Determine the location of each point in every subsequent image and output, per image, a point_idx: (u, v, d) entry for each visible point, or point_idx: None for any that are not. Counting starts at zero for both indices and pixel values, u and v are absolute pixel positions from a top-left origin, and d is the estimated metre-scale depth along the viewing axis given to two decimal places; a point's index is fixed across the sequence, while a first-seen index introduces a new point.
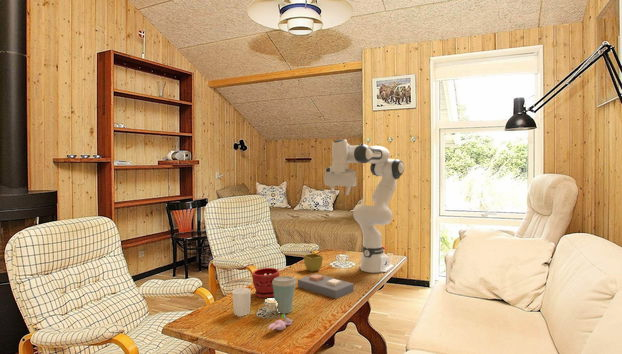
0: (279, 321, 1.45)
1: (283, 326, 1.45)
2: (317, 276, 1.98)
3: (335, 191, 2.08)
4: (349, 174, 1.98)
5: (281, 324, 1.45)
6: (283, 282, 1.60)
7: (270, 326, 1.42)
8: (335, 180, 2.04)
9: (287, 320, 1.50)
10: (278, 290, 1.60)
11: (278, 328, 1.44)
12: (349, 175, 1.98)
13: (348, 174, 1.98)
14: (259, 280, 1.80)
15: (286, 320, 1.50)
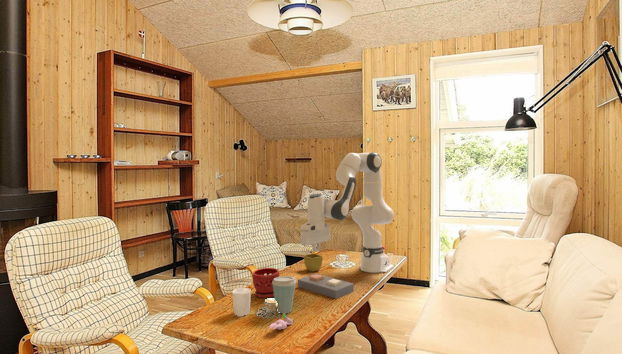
0: (280, 321, 1.46)
1: (284, 326, 1.45)
2: (317, 276, 1.98)
3: None
4: (328, 228, 2.01)
5: (282, 324, 1.45)
6: (283, 282, 1.60)
7: (271, 326, 1.43)
8: (316, 237, 1.95)
9: (288, 320, 1.50)
10: (278, 290, 1.60)
11: (279, 328, 1.45)
12: (328, 230, 2.01)
13: (327, 229, 2.01)
14: (259, 280, 1.80)
15: (287, 320, 1.50)
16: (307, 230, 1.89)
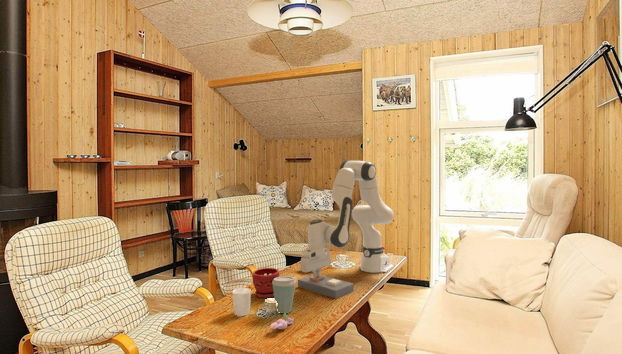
0: (281, 320, 1.46)
1: (285, 325, 1.46)
2: (317, 277, 1.98)
3: None
4: (328, 253, 2.02)
5: (283, 323, 1.45)
6: (283, 282, 1.60)
7: (272, 325, 1.43)
8: (316, 264, 1.95)
9: (288, 319, 1.51)
10: (278, 290, 1.60)
11: (280, 327, 1.45)
12: (328, 255, 2.02)
13: (327, 254, 2.01)
14: (259, 280, 1.80)
15: (287, 319, 1.51)
16: (307, 257, 1.90)
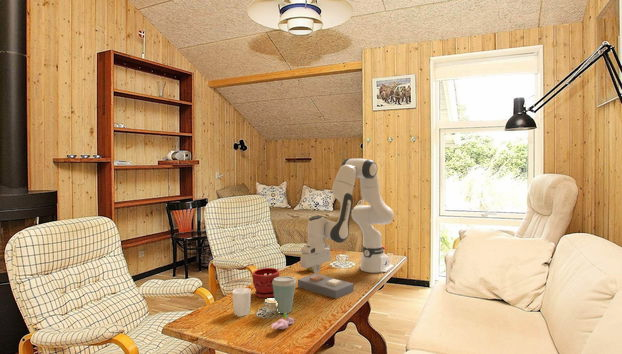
0: (282, 320, 1.46)
1: (286, 325, 1.46)
2: (317, 277, 1.98)
3: None
4: (328, 249, 2.02)
5: (284, 323, 1.46)
6: (283, 282, 1.60)
7: (273, 325, 1.43)
8: (316, 259, 1.95)
9: (289, 319, 1.51)
10: (278, 290, 1.60)
11: (281, 327, 1.45)
12: (328, 250, 2.02)
13: (327, 250, 2.02)
14: (259, 280, 1.80)
15: (288, 319, 1.51)
16: (307, 253, 1.90)
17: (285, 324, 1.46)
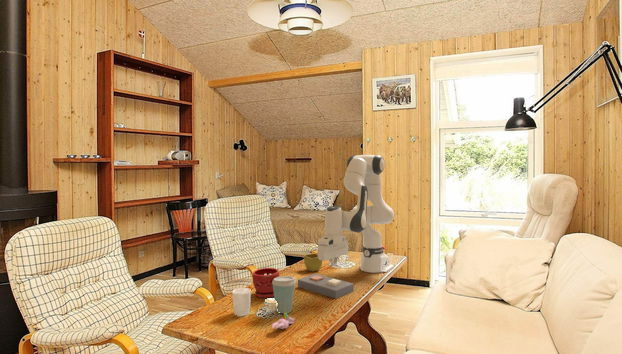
0: (282, 320, 1.47)
1: (286, 325, 1.46)
2: (317, 277, 1.98)
3: None
4: (345, 242, 1.93)
5: (284, 323, 1.46)
6: (283, 282, 1.60)
7: (273, 325, 1.43)
8: (334, 252, 1.87)
9: (289, 319, 1.51)
10: (278, 290, 1.60)
11: (281, 327, 1.45)
12: (346, 243, 1.93)
13: (345, 242, 1.93)
14: (259, 280, 1.80)
15: (288, 319, 1.51)
16: (325, 244, 1.81)
17: (285, 324, 1.46)
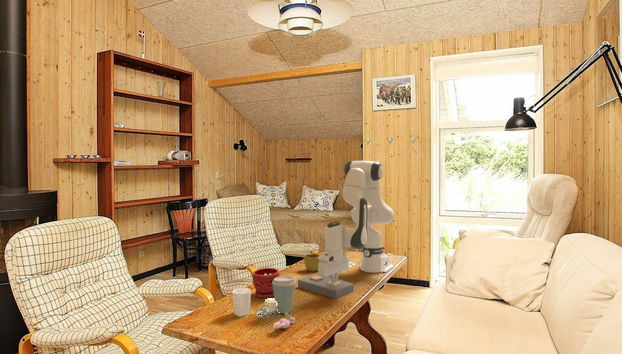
0: (283, 320, 1.47)
1: (287, 324, 1.47)
2: (317, 277, 1.98)
3: None
4: (346, 257, 1.94)
5: (285, 322, 1.46)
6: (283, 282, 1.60)
7: (275, 325, 1.44)
8: (334, 268, 1.87)
9: (290, 318, 1.52)
10: (278, 290, 1.60)
11: (283, 326, 1.46)
12: (346, 259, 1.94)
13: (345, 258, 1.93)
14: (259, 280, 1.80)
15: (289, 318, 1.51)
16: (325, 261, 1.82)
17: (287, 323, 1.46)
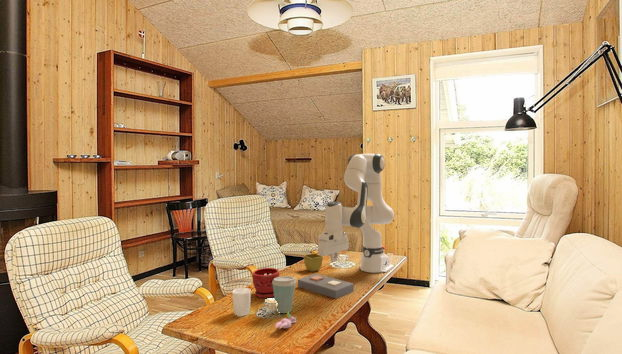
0: (285, 319, 1.47)
1: (289, 324, 1.47)
2: (317, 277, 1.98)
3: None
4: (346, 237, 1.94)
5: (287, 322, 1.46)
6: (283, 282, 1.60)
7: (277, 325, 1.44)
8: (334, 247, 1.87)
9: (291, 318, 1.52)
10: (278, 290, 1.60)
11: (284, 326, 1.46)
12: (346, 238, 1.94)
13: (345, 237, 1.93)
14: (259, 280, 1.80)
15: (290, 318, 1.52)
16: (325, 240, 1.82)
17: (288, 323, 1.47)
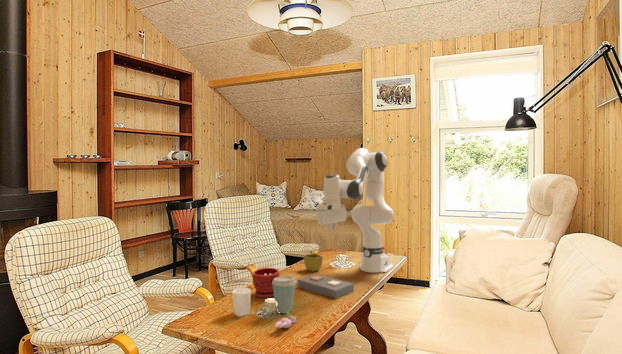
0: (285, 319, 1.47)
1: (289, 324, 1.47)
2: (317, 277, 1.98)
3: None
4: (344, 209, 2.01)
5: (287, 322, 1.47)
6: (283, 282, 1.60)
7: (277, 324, 1.44)
8: (332, 217, 1.94)
9: (292, 318, 1.52)
10: (278, 290, 1.60)
11: (284, 326, 1.46)
12: (344, 210, 2.01)
13: (343, 209, 2.01)
14: (259, 280, 1.80)
15: (291, 318, 1.52)
16: (324, 209, 1.89)
17: (288, 323, 1.47)
